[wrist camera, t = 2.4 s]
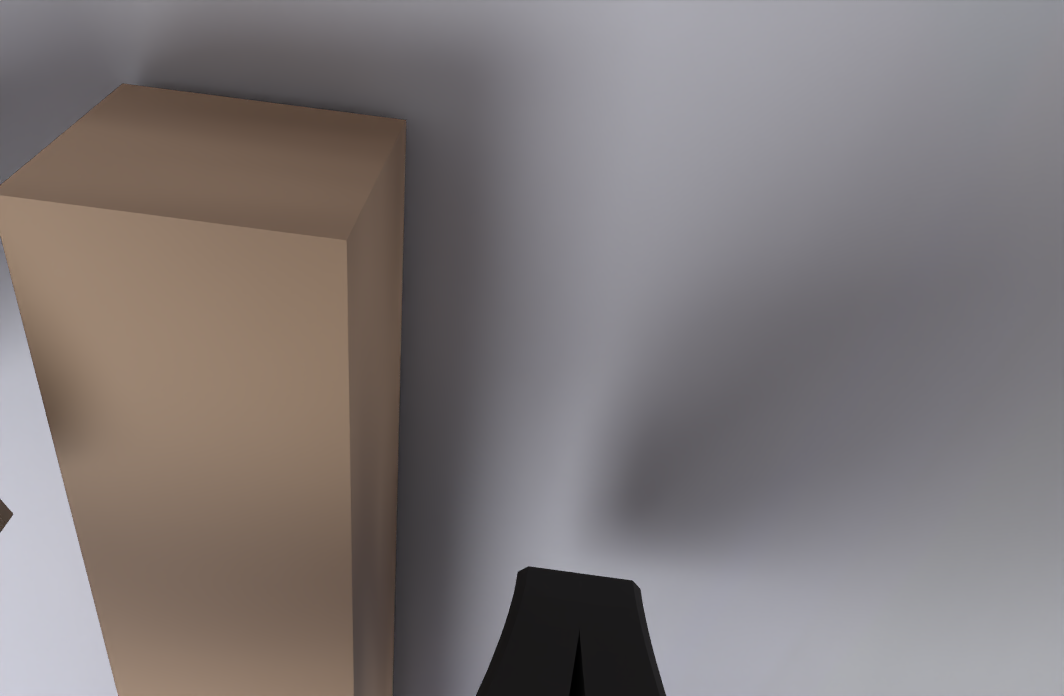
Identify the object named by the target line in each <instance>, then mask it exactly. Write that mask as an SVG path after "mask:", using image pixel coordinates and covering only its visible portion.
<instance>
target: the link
mask: <svg viewBox="0 0 1064 696" xmlns="http://www.w3.org/2000/svg"><path fill="white" fill-rule="evenodd" d="M405 151H406V120H402V119H394V118H386V117H379V116H371V115H363V114H355V113H348V112H340V111H332V110H324V109H317V108H309V107H301V106H293V105H286V104H278V103H270V102H262V101H255V100H247V99H239V98H231V97H223V96H216V95H208V94H200V93H192V92H185V91H177V90H169V89H161V88H154V87H146V86H138V85H130V84H121V85H120V86H119V87H118V88H117V89H115V90H114V91H113V92H112V93H111V94H109V95H108V96H107V97H106V98H105V99H103V100H102V101H101V102H100V103H99V104H97V105H96V106H95V107H94V108H93V109H91V110H90V111H89V112H88V113H87V114H85V115H84V116H83V117H82V118H81V119H79V120H78V121H77V122H76V123H74V124H73V125H72V126H71V127H70V128H68V129H67V130H66V131H65V132H64V133H62V134H61V135H60V136H59V137H58V138H56V139H55V140H54V141H53V142H52V143H50V144H49V145H48V146H47V147H46V148H44V149H43V150H42V151H41V152H40V153H38V154H37V155H36V156H35V157H34V158H32V159H31V160H30V161H29V162H27V163H26V164H25V165H24V166H23V167H21V168H20V169H19V170H18V171H17V172H15V173H14V174H13V175H12V176H11V177H9V178H8V179H7V180H6V181H5V182H3V183H2V184H1V185H0V236H1V240H2V244H3V248H4V252H5V256H6V260H7V264H8V267H9V271H10V275H11V279H12V283H13V287H14V291H15V295H16V299H17V303H18V306H19V310H20V314H21V318H22V322H23V326H24V330H25V334H26V338H27V342H28V346H29V349H30V353H31V357H32V361H33V365H34V369H35V373H36V377H37V381H38V385H39V388H40V392H41V396H42V400H43V404H44V408H45V412H46V416H47V420H48V424H49V427H50V431H51V435H52V439H53V443H54V447H55V451H56V455H57V459H58V463H59V467H60V470H61V474H62V478H63V482H64V486H65V490H66V494H67V498H68V502H69V506H70V509H71V513H72V517H73V521H74V525H75V529H76V533H77V537H78V541H79V545H80V548H81V552H82V556H83V560H84V564H85V568H86V572H87V576H88V580H89V584H90V588H91V591H92V595H93V599H94V603H95V607H96V611H97V615H98V619H99V623H100V627H101V630H102V634H103V638H104V642H105V646H106V650H107V654H108V658H109V662H110V666H111V670H112V673H113V677H114V681H115V685H116V689H117V693H118V696H393V656H394V614H395V572H396V530H397V488H398V445H399V403H400V361H401V319H402V277H403V235H404V193H405Z"/></svg>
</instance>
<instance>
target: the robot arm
mask: <svg viewBox="0 0 1064 696" xmlns="http://www.w3.org/2000/svg"><path fill="white" fill-rule="evenodd" d="M476 696H666V694H665V691H664V687H663V684H662V680H661V677H660V673H659V670H658V666H657V663H656V659H655V656H654V652H653V648H652V644H651V640H650V636H649V632H648V628H647V623H646V618H645V613H644V608H643V603H642V597H641V590H640V588H639V587H638V586H637V585H636V584H635V583H634V581H632V580H624V579H617V578H610V577H602V576H595V575H588V574H580V573H573V572H566V571H558V570H551V569H544V568H536V567H527V568H525V569H523V570H521V571H519V572H518V574H517V580H516V585H515V591H514V595H513V598H512V602H511V606H510V609H509V613H508V616H507V619H506V622H505V625H504V628H503V631H502V634H501V637H500V639H499V642H498V645H497V647H496V650H495V652H494V655H493V657H492V660H491V662H490V665H489V668H488V670H487V672H486V674H485V677H484V679H483V681H482V683H481V685H480V688H479V690H478V692H477V694H476Z"/></svg>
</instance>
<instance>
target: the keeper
mask: <svg viewBox="0 0 1064 696" xmlns="http://www.w3.org/2000/svg"><path fill="white" fill-rule="evenodd" d="M12 516H13V513H12V512H11V511H10V510H9V508H8V507H7V506H6V505H5V504H4V503H3V502H2V500H1V499H0V532H1V531H2V529H3V528H4V527H5V525H6V524H7V522H8V521H9V520H10V518H11V517H12Z"/></svg>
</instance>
